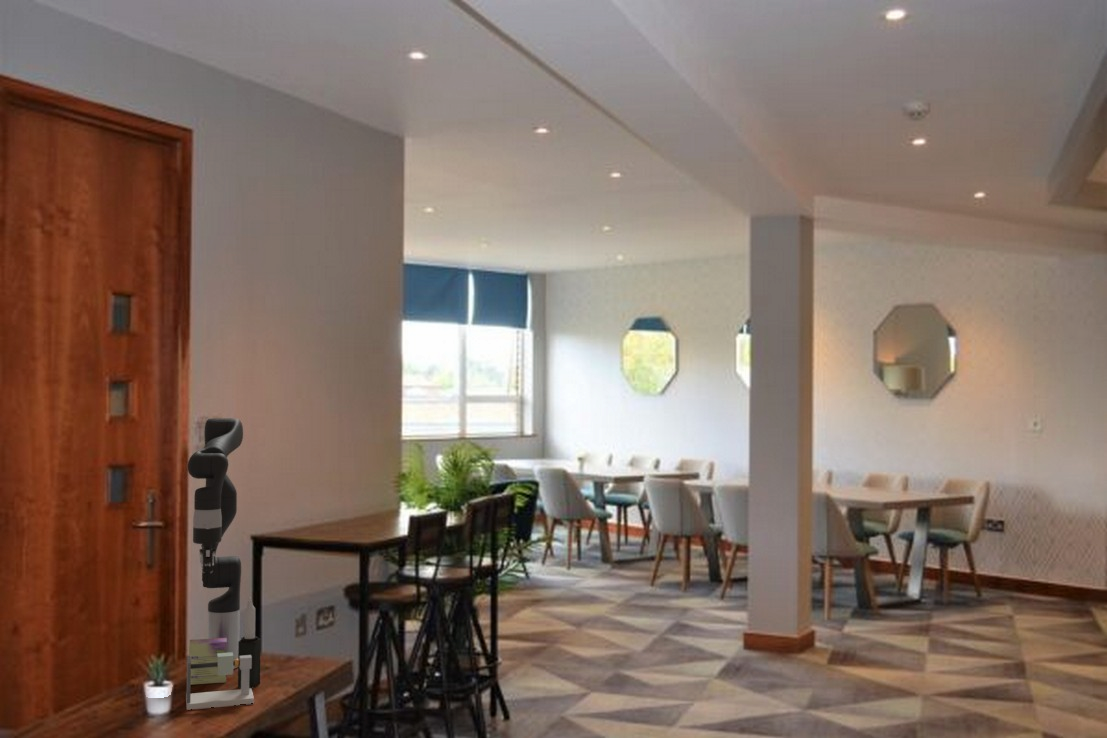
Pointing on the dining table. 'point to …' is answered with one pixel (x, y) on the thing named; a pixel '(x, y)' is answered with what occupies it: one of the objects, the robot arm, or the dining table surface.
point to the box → (206, 659)
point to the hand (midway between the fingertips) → (206, 584)
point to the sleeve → (225, 663)
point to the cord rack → (221, 697)
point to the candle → (250, 646)
